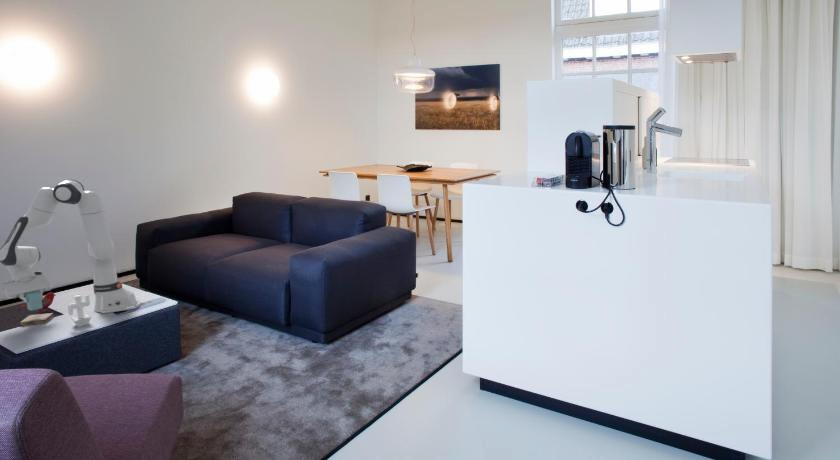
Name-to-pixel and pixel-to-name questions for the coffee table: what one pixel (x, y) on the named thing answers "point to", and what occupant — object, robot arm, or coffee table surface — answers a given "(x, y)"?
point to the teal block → (34, 301)
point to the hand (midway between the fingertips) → (34, 300)
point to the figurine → (80, 310)
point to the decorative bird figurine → (45, 301)
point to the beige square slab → (37, 319)
